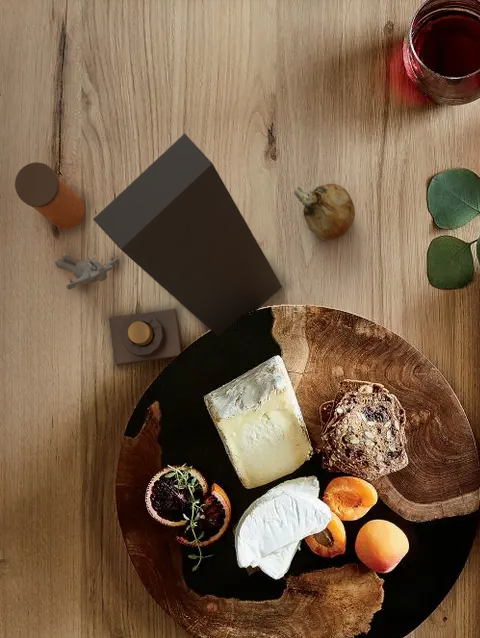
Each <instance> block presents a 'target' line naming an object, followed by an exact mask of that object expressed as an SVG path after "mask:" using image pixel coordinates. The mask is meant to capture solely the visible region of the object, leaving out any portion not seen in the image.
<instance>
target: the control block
mask: <svg viewBox="0 0 480 638" xmlns="http://www.w3.org/2000/svg"><path fill="white" fill-rule="evenodd" d="M178 317H179V316H178V310H177V309H176V308H169V309H160V310H154V311H153V310H152V311H146V312H140V313H131V314H125V315H118V316H112V317H108V320H109V328H110V336H111V337H110V338H111V344H112V351H113V358H114V360H113V361H114V365H116V366H123V365H128V364H130V365H131V364H136V363H144V362H150V361H158V360H166V359H173V358H178V357H177V356H178V355H179V354H180V353H181V352H182V353H183V347H182V339H181V332H180V323H179V318H178ZM137 321H140V322H144V323H145V324H147V325H148V326H149V327H150V328H151V329H152V331H153V338H152V340H151V341H150V342H149V343H148V344H146V345H138V344H136V343H134V342H133V341H131V340H130V338H129V336H128V329H129V327H130V325H131V324H133V323H134V322H137Z"/></svg>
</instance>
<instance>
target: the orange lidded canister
mask: <svg viewBox="0 0 480 638" xmlns="http://www.w3.org/2000/svg"><path fill="white" fill-rule="evenodd" d="M14 189H15V192H16V195H17V196H18V198H19V199H20V200H21V201H22V202H23V203H24V204H26V205H28V206H29V207H32V208H33V209H34V210H35V211H37V212H38V213H39V214H40V215H42V216H43V217H44V218H46V220H48V221H49V222H50V223H52V224H53V225H54V226H56V227H57V228H59V229H65V230H69V229H73V228H75V227H77V226H78V225H79V224H80V223H82V221H83V219H84V217H85V213H86V208H85V203H84V201H83V199H82V197H81V196H79V194H77V193H76V192H75V191H74V190H73V189H72V188H71V187H70V186H69V185H68V184H67V183H66V182H65V181H64V180H62V179H61V178H60V177H59V176H58V174H57V173H56V172H55V170H54V169H53V168H52V167H51V166H49V165H48V164H46V163H44V162H38V161H36V162H35V161H34V162H30V163H28V164H25V165H24V166H23V167H21V168H20V170H19V171H18V172H17V174H16V176H15V180H14Z"/></svg>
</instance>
